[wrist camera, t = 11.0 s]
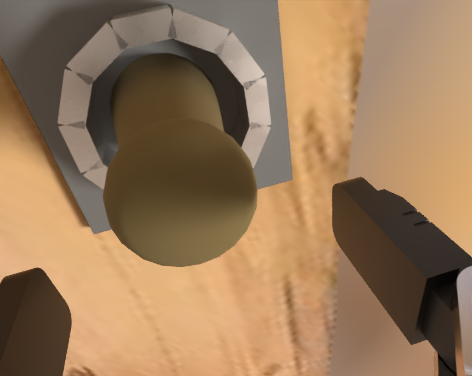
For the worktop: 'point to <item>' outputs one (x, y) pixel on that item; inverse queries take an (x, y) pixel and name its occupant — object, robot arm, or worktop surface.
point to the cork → (175, 166)
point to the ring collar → (144, 32)
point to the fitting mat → (88, 23)
